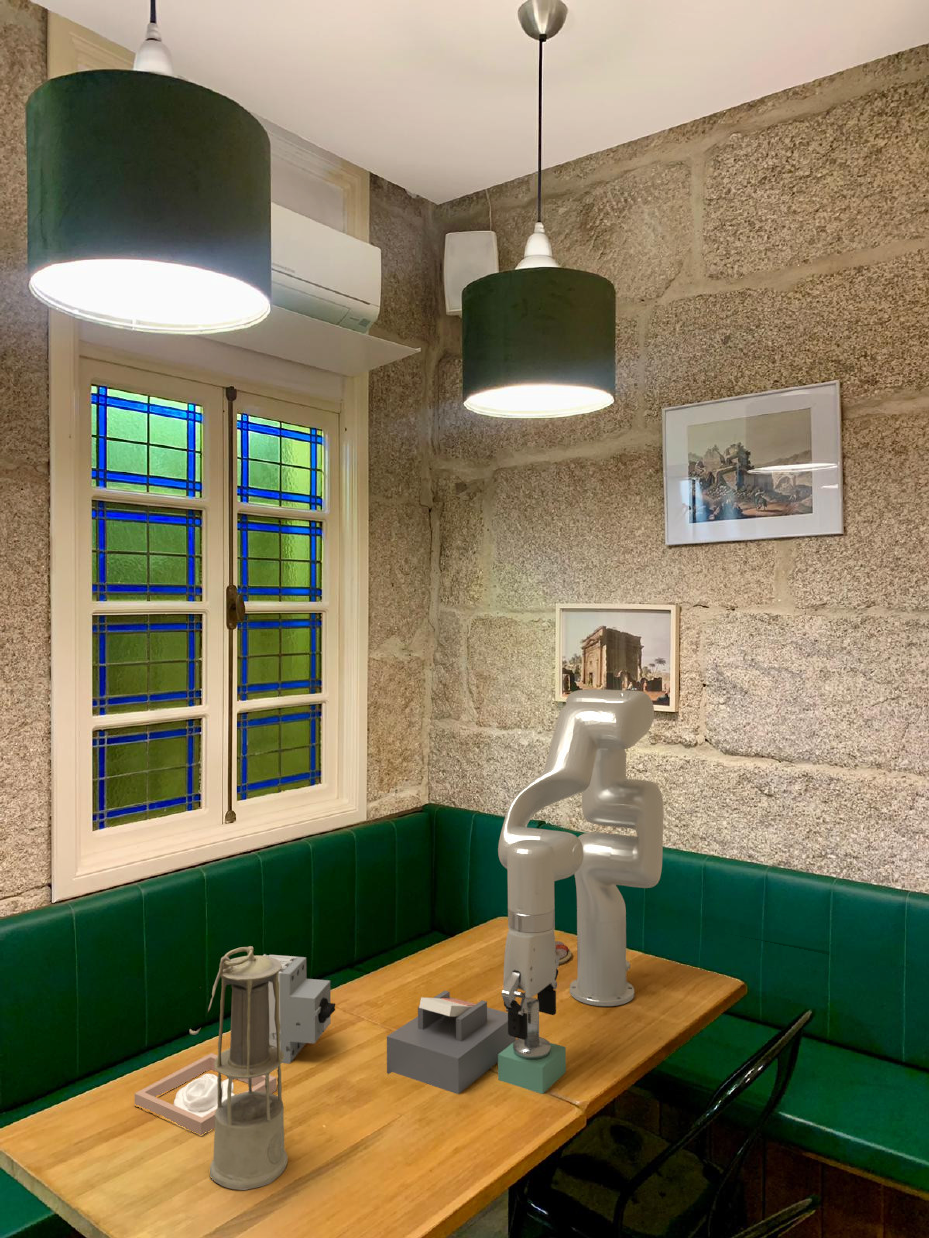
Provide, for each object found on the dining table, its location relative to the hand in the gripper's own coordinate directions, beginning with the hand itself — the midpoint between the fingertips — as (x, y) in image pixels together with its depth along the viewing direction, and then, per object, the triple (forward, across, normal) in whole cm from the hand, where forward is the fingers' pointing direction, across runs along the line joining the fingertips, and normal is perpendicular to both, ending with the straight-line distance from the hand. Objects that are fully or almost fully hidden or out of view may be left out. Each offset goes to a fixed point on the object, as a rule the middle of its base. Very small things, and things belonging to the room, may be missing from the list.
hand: (532, 1024), depth 144 cm
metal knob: (+8, 0, 0) cm, 8 cm away
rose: (+9, +34, -38) cm, 52 cm away
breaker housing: (+9, +2, -14) cm, 17 cm away
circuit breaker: (+9, +14, -39) cm, 42 cm away
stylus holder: (+9, 0, 0) cm, 9 cm away
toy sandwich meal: (+10, -46, -23) cm, 52 cm away
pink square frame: (+8, +32, -40) cm, 52 cm away
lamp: (+8, +42, -22) cm, 49 cm away
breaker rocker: (0, +2, -14) cm, 14 cm away
